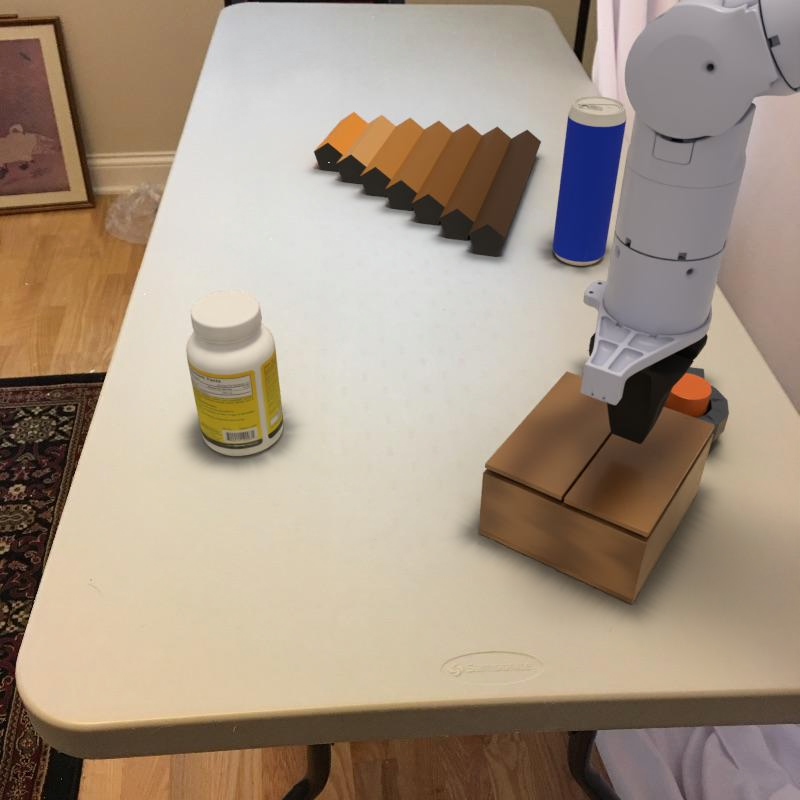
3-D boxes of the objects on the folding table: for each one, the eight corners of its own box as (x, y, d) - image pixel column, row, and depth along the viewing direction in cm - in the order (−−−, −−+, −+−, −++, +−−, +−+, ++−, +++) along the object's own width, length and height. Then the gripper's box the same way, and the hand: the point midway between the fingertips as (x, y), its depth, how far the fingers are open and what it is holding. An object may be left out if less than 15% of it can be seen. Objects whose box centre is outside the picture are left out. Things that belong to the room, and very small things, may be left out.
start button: (705, 394, 68) (710, 375, 67) (707, 421, 65) (713, 402, 64) (661, 389, 68) (666, 370, 67) (662, 415, 66) (666, 396, 65)
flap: (713, 429, 60) (715, 424, 59) (647, 537, 52) (648, 532, 52) (638, 402, 62) (638, 397, 62) (563, 502, 54) (564, 497, 54)
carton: (697, 493, 63) (716, 424, 59) (631, 604, 55) (649, 533, 52) (556, 437, 68) (566, 370, 64) (477, 532, 60) (483, 463, 56)
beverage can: (604, 244, 91) (627, 97, 82) (604, 270, 87) (628, 117, 78) (552, 240, 92) (570, 93, 83) (550, 265, 88) (568, 113, 79)
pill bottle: (252, 396, 72) (237, 274, 65) (300, 433, 68) (290, 308, 61) (185, 430, 68) (161, 305, 62) (231, 471, 65) (212, 343, 58)
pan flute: (503, 257, 89) (539, 158, 108) (506, 226, 87) (542, 131, 106) (267, 226, 94) (341, 136, 113) (264, 196, 92) (340, 110, 111)
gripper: (649, 170, 54) (615, 356, 63) (539, 271, 45) (517, 474, 53) (767, 198, 51) (716, 390, 60) (677, 314, 42) (631, 522, 50)
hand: (629, 432), depth 56 cm, fingers closed
